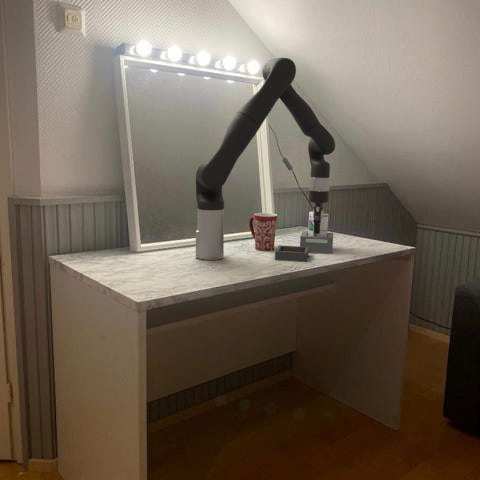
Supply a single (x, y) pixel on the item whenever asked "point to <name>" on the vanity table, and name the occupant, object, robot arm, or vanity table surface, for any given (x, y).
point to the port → (317, 243)
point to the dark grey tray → (292, 253)
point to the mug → (264, 230)
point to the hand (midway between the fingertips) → (317, 231)
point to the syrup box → (322, 225)
